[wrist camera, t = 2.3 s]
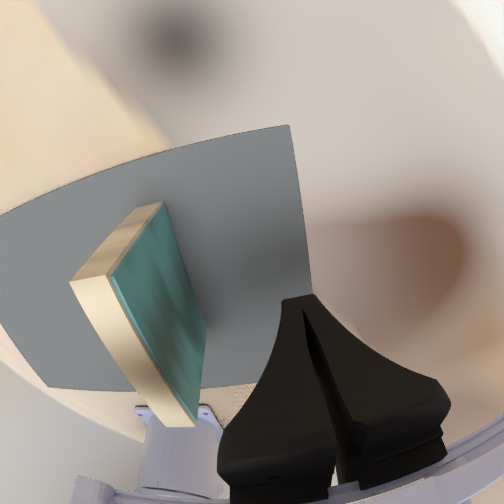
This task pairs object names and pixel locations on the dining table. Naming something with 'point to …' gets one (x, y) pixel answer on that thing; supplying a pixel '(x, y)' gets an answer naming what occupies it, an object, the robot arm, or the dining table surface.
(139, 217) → the birch tile
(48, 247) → the rubber mat
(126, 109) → the dining table surface
